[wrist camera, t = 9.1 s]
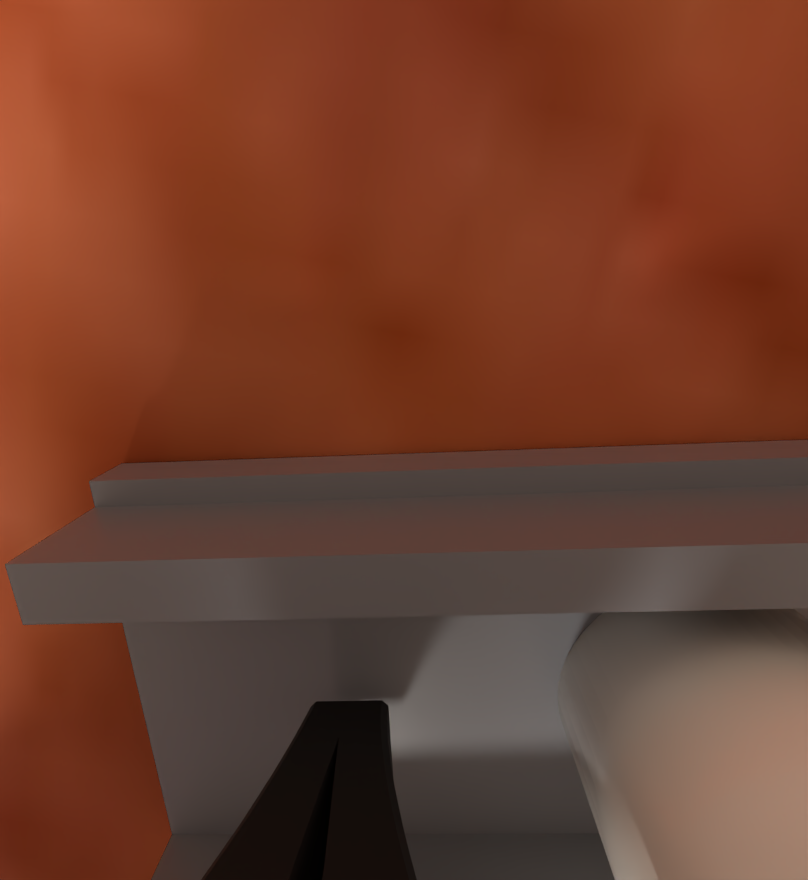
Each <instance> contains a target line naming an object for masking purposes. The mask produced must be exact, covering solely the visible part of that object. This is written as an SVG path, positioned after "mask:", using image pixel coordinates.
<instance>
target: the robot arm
mask: <svg viewBox="0 0 808 880" xmlns="http://www.w3.org/2000/svg"><path fill="white" fill-rule="evenodd" d="M201 880H417V878H416V875H415V871H414V867H413V864H412V860H411V856H410V853H409V849H408V845H407V841H406V837H405V832H404V828H403V824H402V819H401V814H400V810H399V805H398V800H397V796H396V791H395V786H394V779H393V765H392V751H391V736H390V722H389V707H388V705H387V704H386V703H385V702H383V701H382V700H372V701H316V702H315V703H314V704H313V705H312V706H311V707H310V709H309V711H308V713H307V715H306V717H305V718H304V720H303V722H302V724H301V726H300V728H299V729H298V731H297V733H296V735H295V736H294V738H293V740H292V742H291V743H290V745H289V747H288V749H287V750H286V752H285V754H284V755H283V757H282V759H281V760H280V762H279V764H278V765H277V767H276V769H275V770H274V772H273V774H272V775H271V777H270V778H269V780H268V781H267V783H266V785H265V786H264V788H263V789H262V791H261V792H260V794H259V796H258V797H257V799H256V800H255V802H254V803H253V805H252V806H251V808H250V810H249V811H248V813H247V814H246V816H245V817H244V819H243V820H242V822H241V823H240V825H239V826H238V828H237V829H236V831H235V832H234V834H233V835H232V836H231V838H230V839H229V841H228V842H227V843H226V845H225V846H224V848H223V849H222V851H221V852H220V853H219V855H218V856H217V858H216V859H215V861H214V862H213V863H212V865H211V866H210V868H209V869H208V870H207V872H206V873H205V875H204V876H203V878H202V879H201Z"/></svg>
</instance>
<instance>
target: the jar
mask: <svg viewBox="0 0 808 880" xmlns="http://www.w3.org/2000/svg"><path fill="white" fill-rule="evenodd" d="M558 708H559V714H560V718H561V721H562V725H563V728H564V731H565V734H566V737H567V740H568V742H569V745H570V748H571V751H572V754H573V757H574V760H575V763H576V766H577V769H578V772H579V775H580V778H581V781H582V784H583V787H584V790H585V793H586V796H587V799H588V802H589V805H590V808H591V811H592V814H593V817H594V819H595V822H596V825H597V828H598V831H599V834H600V837H601V840H602V843H603V846H604V849H605V852H606V855H607V858H608V861H609V864H610V867H611V870H612V873H613V876H614V879H615V880H808V620H807V619H806V618H805V617H804V616H802V615H801V614H800V613H799V612H798V611H796V610H795V609H748V610H701V611H653V612H606V613H602V614H601V615H600V616H599V617H597V618H596V619H595V620H594V621H593V622H592V623H591V624H590V625H589V626H588V627H587V628H586V629H585V630H584V631H583V633H582V634H581V635H580V637H579V638H578V639H577V641H576V642H575V643H574V645H573V647H572V648H571V650H570V652H569V654H568V656H567V657H566V660H565V663H564V665H563V668H562V670H561V675H560V679H559V684H558Z"/></svg>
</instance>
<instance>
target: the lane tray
mask: <svg viewBox="0 0 808 880" xmlns="http://www.w3.org/2000/svg"><path fill="white" fill-rule="evenodd" d="M89 484H90V488H91V492H92V496H93V501H94V505H95V507H94V508H93V509H91V510H90V511H88V512H87V513H85V514H83V515H82V516H80V517H79V518H77V519H75V520H74V521H72V522H71V523H69V524H68V525H66V526H64V527H63V528H61V529H60V530H58V531H57V532H55V533H53V534H52V535H50V536H49V537H47V538H45V539H44V540H42V541H41V542H39V543H38V544H36V545H34V546H33V547H31V548H30V549H28V550H26V551H25V552H23V553H22V554H20V555H19V556H17V557H15V558H14V559H12V560H11V561H9V562H8V563H6V564H5V567H6V570H7V573H8V577H9V580H10V583H11V587H12V590H13V593H14V597H15V600H16V603H17V607H18V610H19V613H20V617H21V620H22V623H23V625H36V624H84V623H122V624H123V628H124V632H125V637H126V641H127V645H128V649H129V654H130V658H131V662H132V666H133V671H134V675H135V679H136V683H137V688H138V692H139V696H140V700H141V705H142V709H143V713H144V717H145V722H146V726H147V730H148V734H149V739H150V743H151V747H152V751H153V755H154V760H155V764H156V768H157V772H158V777H159V781H160V785H161V789H162V794H163V798H164V802H165V806H166V811H167V815H168V819H169V823H170V828H171V832H172V836H171V838H170V840H169V842H168V844H167V847H166V849H165V851H164V853H163V855H162V857H161V859H160V862H159V864H158V866H157V868H156V870H155V872H154V875H153V877H152V879H151V880H201V879H202V878H203V876H204V875H205V873H206V872H207V870H208V869H209V868H210V866H211V865H212V863H213V862H214V861H215V859H216V858H217V856H218V855H219V853H220V852H221V851H222V849H223V848H224V846H225V845H226V843H227V842H228V841H229V839H230V838H231V836H232V835H233V834H234V832H235V831H236V829H237V828H238V826H239V825H240V823H241V822H242V820H243V819H244V817H245V816H246V814H247V813H248V811H249V810H250V808H251V806H252V805H253V803H254V802H255V800H256V799H257V797H258V796H259V794H260V792H261V791H262V789H263V788H264V786H265V785H266V783H267V781H268V780H269V778H270V777H271V775H272V774H273V772H274V770H275V769H276V767H277V765H278V764H279V762H280V760H281V759H282V757H283V755H284V754H285V752H286V750H287V749H288V747H289V745H290V743H291V742H292V740H293V738H294V736H295V735H296V733H297V731H298V729H299V728H300V726H301V724H302V722H303V720H304V718H305V717H306V715H307V713H308V711H309V709H310V707H311V706H312V705H313V704H314V703H315V702H316V701H372V700H382V701H383V702H385V703H386V704H387V705H388V707H389V722H390V736H391V751H392V765H393V779H394V786H395V791H396V796H397V800H398V805H399V810H400V814H401V819H402V824H403V828H404V832H405V837H406V841H407V845H408V849H409V853H410V856H411V860H412V864H413V867H414V871H415V875H416V878H417V880H615V879H614V876H613V873H612V870H611V867H610V864H609V861H608V858H607V855H606V852H605V849H604V846H603V843H602V840H601V837H600V834H599V831H598V828H597V825H596V822H595V819H594V817H593V814H592V811H591V808H590V805H589V802H588V799H587V796H586V793H585V790H584V787H583V784H582V781H581V778H580V775H579V772H578V769H577V766H576V763H575V760H574V757H573V754H572V751H571V748H570V745H569V742H568V740H567V737H566V734H565V731H564V728H563V725H562V721H561V718H560V714H559V708H558V684H559V679H560V675H561V670H562V668H563V665H564V663H565V660H566V657H567V656H568V654H569V652H570V650H571V648H572V647H573V645H574V643H575V642H576V641H577V639H578V638H579V637H580V635H581V634H582V633H583V631H584V630H585V629H586V628H587V627H588V626H589V625H590V624H591V623H592V622H593V621H594V620H595V619H596V618H597V617H599V616H600V615H601V614H602V613H606V612H653V611H701V610H748V609H795V610H796V611H798V612H799V613H800V614H801V615H802V616H804V617H805V618H806V619H807V620H808V440H780V441H752V442H723V443H694V444H665V445H637V446H608V447H579V448H551V449H522V450H493V451H464V452H436V453H407V454H378V455H349V456H321V457H292V458H263V459H235V460H206V461H177V462H148V463H122V464H120V465H118V466H116V467H114V468H112V469H111V470H109V471H107V472H105V473H103V474H101V475H100V476H98V477H96V478H94V479H92V480H90V481H89Z"/></svg>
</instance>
